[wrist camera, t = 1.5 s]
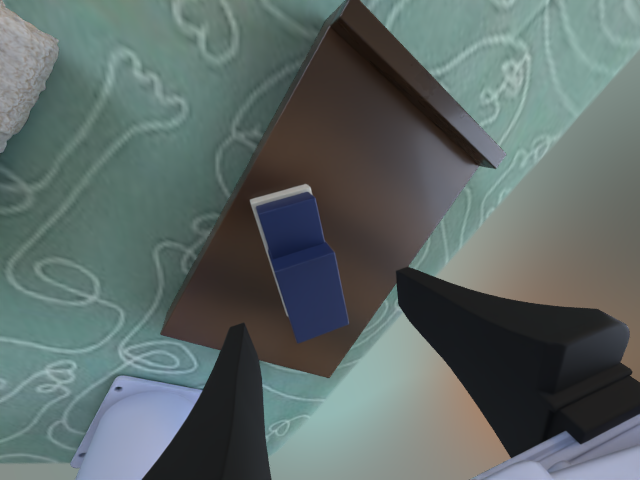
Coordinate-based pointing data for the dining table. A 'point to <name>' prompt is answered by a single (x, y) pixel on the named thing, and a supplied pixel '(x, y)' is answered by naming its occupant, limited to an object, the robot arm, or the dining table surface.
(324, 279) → the trainer
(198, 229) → the dining table surface
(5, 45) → the washcloth
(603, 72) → the dining table surface
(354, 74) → the shoe shelf
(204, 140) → the dining table surface
